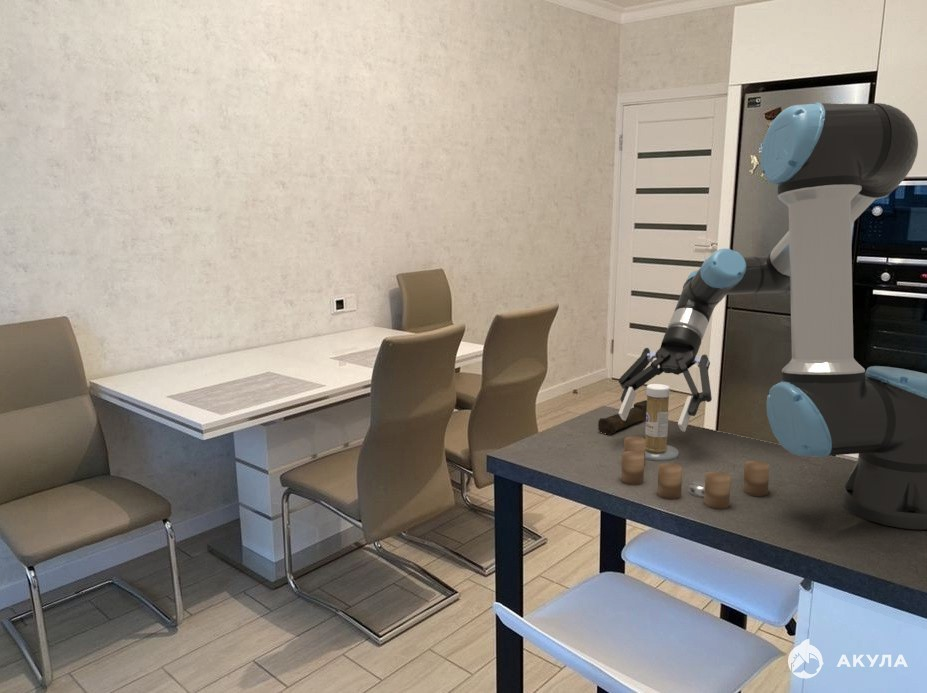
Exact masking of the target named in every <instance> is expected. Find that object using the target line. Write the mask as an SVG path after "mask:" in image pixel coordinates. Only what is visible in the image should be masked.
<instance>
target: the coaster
mask: <svg viewBox="0 0 927 693" xmlns="http://www.w3.org/2000/svg"><path fill="white" fill-rule="evenodd" d="M678 457H679V450H678V449H677V448H676V447H674V446H672V445H668V444H667V451H665V452H661V453H653V452H649V451H647V450H645V461H646V460H647V461H653V462H665V461H666V462H667V461H672V460H675V459H677V458H678Z"/></svg>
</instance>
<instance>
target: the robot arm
mask: <svg viewBox="0 0 927 693" xmlns="http://www.w3.org/2000/svg"><path fill="white" fill-rule="evenodd" d="M918 137H919V136H918V133H917V129H916V127H915V125H914V123H913V121H912V119H910V117H909V116H908V115H907V114H906V113H905V112H903V111H902V110H901V109H899V108H898V107H896V106H893V105H890V104H886V103H882V102H881V103H880V102H877V103H876V102H870V103H869V102H868V103H834V102H833V103H831V102H829V103H825V102H824V103H823V102H822V103H821V102H812V103H807V104H794V105H791V106H789V107H786V108H785V109H783V110H782V111H780V113H778V115H776V117H775V118H774V119H773V121H772V122H771V124H770V126H769V127H768V130H767V132H766V134H765V137H764V139H763V142H762V147H761V151H760V169H761V172H762V174H763V178H764V179H765V180H766V181H767V182H769V183H771V184H773V185H777V198H778V200H779V201H781V202H782V203H783V204H785V205H786V206H787V207H788V231H787V232H786V233H785V235H784V236H782V238H781V239H780V240H779V241H778V243H776V245H775V246H773V249H771V251H769V252H768V254H767V255H765V256H744V257H743V256H742V254H741V253H740V252H738V251H734V250H732V249H731V248H720V249H717V250H715V251H714V252H713V253H712V254H711V255H710V256H709V257H708V258H706V259H705V260H704V262H703V263H702V264H701V266H700V268H699V269H698V270H695V271H692V272H691V273H690V274H689V275H688V277H687V279H686V281H685V282H684V283H683V286H682V291H681V293H680V296H679V299H678V301H677V304H676V306H675V309H674V312H673V313H672V315H671V318H670V320H669V323H668V325H667V329H666V330H665V332H664V336H663V338H662V339H661V340H662V341H661V344H660V347H659V349H658V350H657V351H654V350H650V348H649V347H644V349H643V351H642V353H641V355H640V356H639V357H638V358H637V359H636V360H635V361H634V363H632V365H631V366H630V367H628V369H627V370H626V371H625V372H624V373H623V374H622V375H621V376H620V378H619V379H618V383H619V385H620V387H621V389H623V391H622V394H621V396H620V401H621V403H622V404H621V406H620V409H619V410H618V413H617V414H619V415H620V417H621V419H622V420H625V421H626V419H627V416H628V414H629V411H630V409H631V408H632V407H633V405H634V404H633V403H634V401H635V398H636V396H637V393H636V390H638V389H639V388H641V387H642V386H643V385H645V384H646V383H648V382H649V381H650V380H653V378H655V377H656V376H660V375H662V374H663V373H664V374H674V375H677V376H679V375H681V374H682V375H683V376H684V379H685V381H686V383H687V385H688V389H689V391H690V392H691V394H692V396H691V395H688V396H687V397H686V400H685V403H684V406H683V409H682V411H681V414H680V417H679V419H678V422H677V425H678V427H679V429H680V431H681V432H686V430H687V427H688V424H689V421H690V419H691V417H692V416H693V417H695V416H696V415H697V413H698V410H699V407H700V405H701V403H702V402H707V403H710V402H712V401H713V400H712V391H711V390H712V389H711V384H710V382H711V381H710V377H709V376H710V375H709V368H710V365H711V362H710V359H709V357H708V355H707V354H702V355H701V356H697V355H698V352H699V351H700V347H701V345H702V340H704V337H705V333H706V332H707V331H706V330H707V328H708V325H709V322H710V320H711V317H712V315H713V312H714V310H715V308H716V307H717V305H718V304H719V303H720V302H721V301H722V300H723V299H724V298H725V297H726V296H729V295H745V294H747V295H748V294H749V295H750V294H774V293H775V294H776V293H777V294H789V293H790V325H791V326H790V330H791V333H790V334H791V359H790V361H789V362H788V363H787V364H785V366H784V367H783V368H782V369H781V381H780V382H777V384H774V385H773V386H771V388H769V392H768V393H769V394H768V395H767V397H766V402H765V403H766V404H765V405H766V408H765V409H766V416H767V419H768V424H769V425H770V426H769V427H770V429H771V431H772V434H773V435H774V437H775V438H776V441H778V443H779V444H780V445H781V446H782V448H784V449H785V450H786V451H788V453H790V454H792V455H795V456H797V457H817V458H825V457H828V456H841V455H842V456H843V455H858V457H857V461H856V462H855V464H854V466H853V468H852V470H851V472H850V474H849V476H848V478H847V481H846V482H845V484H844V486H843V490H842V499H841V501H842V502H841V503H842V504H843V506H844V507H845V508H846V509H847V510H848V511H849V512H850V513H852V514H854V515H856V516H858V517H860V518H861V519H862V518H863V519H864V520H867V521H870V522H873V523H876V524H879V525H880V524H881V525H884V526H888V527H893V528H900V529H909V530H927V373H924V372H920V371H916V370H910V369H905V368H899V367H893V366H892V367H891V366H880V365H873V366H872V365H871V366H869V367H867V369H866V370H865V368H864V367H863V366H862V365H861V364H859V362H858V361H857V360H856V359H855V358H854V323H853V322H854V321H853V320H854V318H853V317H854V314H853V309H854V308H853V264H852V263H853V259H852V223H854V222H855V221H856V220H857V219H858V218H859V217H860V216H861V215H862V214H863V213H864V212H865V211H866V210H867V209H868V208H869V207H870V206H871V205H872V204H873V202H874V201H876V200H879V199H883V198H886V197H889V195H890V194H891V193H893V192H894V190H895V189H897V188H898V187H899V185H900V184H901V183H902V182H903V181H904V180H905V178H906V177H907V176H908V175H909V173H910V171H911V169H912V168H913V165H914V163H915V161H916V159H917V154H918V151H919V150H918V149H919V139H918ZM654 359H655V360H654ZM649 364H650V365H649ZM695 364H696V365H697V367H698V368H699V375H700V376H699V377H700V384H701V385H700V386H701V392H699V391H698V388H697V386H696V384H695V382H694V380H693V378H692V375H691V373H690V370H689V369H690V368H691V367H693V366H694V365H695Z"/></svg>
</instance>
